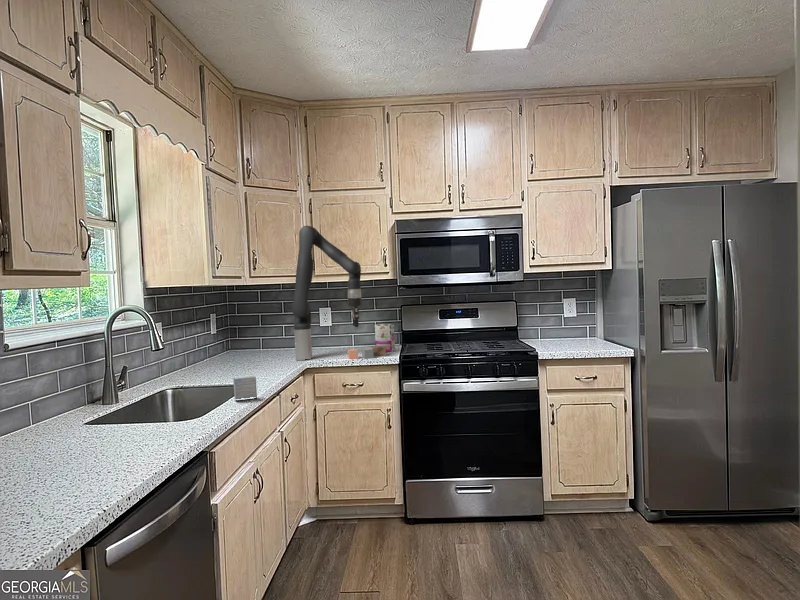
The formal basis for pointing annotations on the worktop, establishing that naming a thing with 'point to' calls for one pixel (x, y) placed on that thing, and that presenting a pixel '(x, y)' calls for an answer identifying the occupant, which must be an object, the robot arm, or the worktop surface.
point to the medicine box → (245, 387)
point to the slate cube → (367, 353)
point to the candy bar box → (385, 336)
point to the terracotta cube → (353, 354)
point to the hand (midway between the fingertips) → (355, 326)
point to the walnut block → (379, 351)
